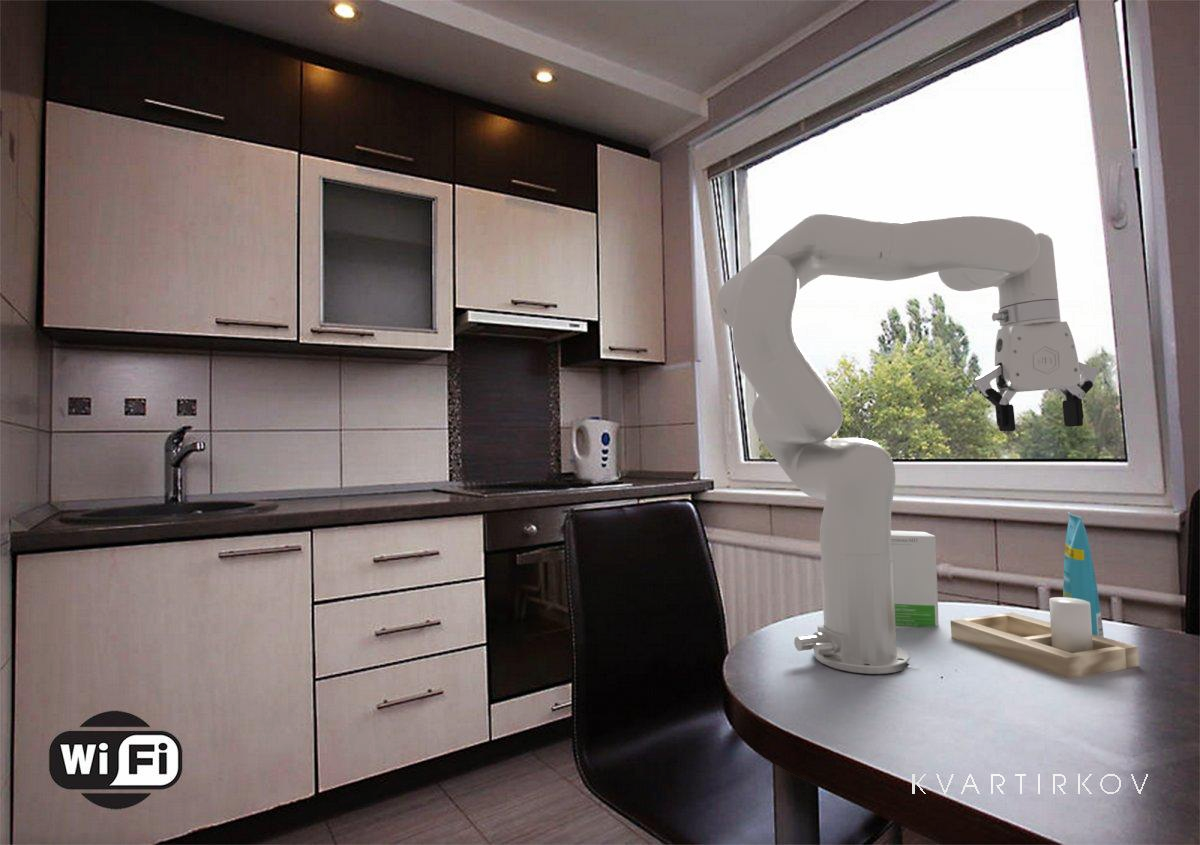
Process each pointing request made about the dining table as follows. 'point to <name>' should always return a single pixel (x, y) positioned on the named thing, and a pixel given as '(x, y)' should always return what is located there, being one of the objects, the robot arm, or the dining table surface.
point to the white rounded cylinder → (1071, 624)
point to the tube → (1081, 571)
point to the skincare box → (914, 579)
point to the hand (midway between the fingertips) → (1040, 428)
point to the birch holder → (1042, 645)
